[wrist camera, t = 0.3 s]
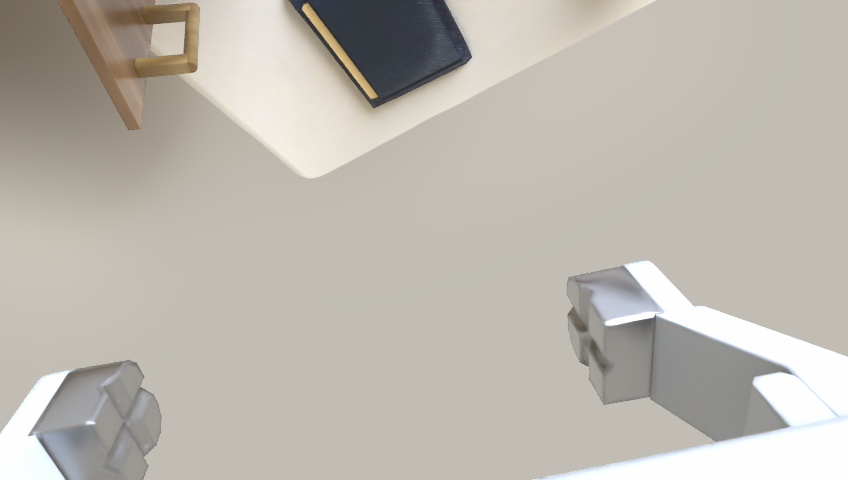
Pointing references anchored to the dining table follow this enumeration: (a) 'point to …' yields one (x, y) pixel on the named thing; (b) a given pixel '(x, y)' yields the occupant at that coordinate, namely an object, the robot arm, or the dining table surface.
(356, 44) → the wallet
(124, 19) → the cupboard door
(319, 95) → the dining table surface
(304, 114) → the dining table surface
